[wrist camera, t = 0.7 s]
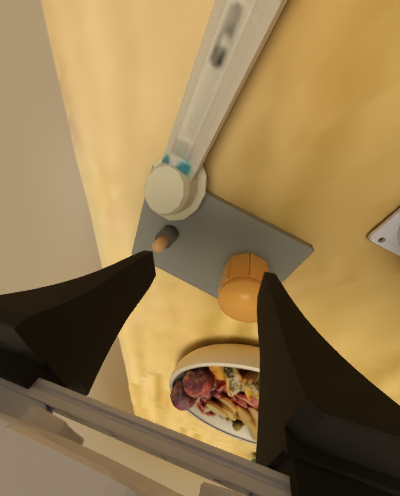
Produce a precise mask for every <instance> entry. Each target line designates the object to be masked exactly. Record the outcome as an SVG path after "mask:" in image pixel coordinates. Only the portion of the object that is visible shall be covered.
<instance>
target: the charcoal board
mask: <svg viewBox="0 0 400 496" xmlns="http://www.w3.org/2000/svg"><path fill="white" fill-rule="evenodd" d="M153 167H154V166H152V169H153ZM151 171H152V170H151ZM144 250H147V251H153V257H154V265H155V266H156V267H158V268H160V269H162V270H164V271H166V272H168V273H170V274H172V275H173V276H175V277H177V278H179V279H181V280H183V281H185V282H187V283H189V284H191V285H193V286H195V287H197V288H199V289H200V290H202V291H204V292H206V293H208V294H210V295H212V296H214V297H216V298H219V293H218V290H219V286H220V281H221V277H222V273H223V269H224V267H225V265H226V264H227V262H228V261H229V259H230V258H231V256H234V255H239V254H245V253H252V254H254V255H256V256H258V257H260V258H262V259H264V260H265V261H266V262H267V264H268V268H269V272H270V273H275V274H276V275H277V277H278V278H279V280H280V282H281V283H282V282H283V281H284V280H285V279H286V278H287V277H288V276H289V275H290V274H291V273H292V272H293V271H294V270H295V269H296V268H297V267H298V266H299V265H300V264H301V263H302V262H303V261H304V260H305V259H306V258H307V257H308V256H309V255H310V254H311V253H312V252H313V251H314V248H313V247H312V245H310V244H308V243H306V242H304V241H302V240H300V239H298V238H296V237H295V236H293V235H291V234H289V233H287V232H285V231H283V230H281V229H279V228H277V227H275V226H273V225H272V224H270V223H268V222H266V221H264V220H262V219H260V218H258V217H256V216H254V215H252V214H250V213H248V212H247V211H245V210H243V209H241V208H239V207H237V206H235V205H233V204H231V203H229V202H227V201H225V200H224V199H222V198H220V197H218V196H216V195H214V194H212V193H210V192H208V191H206V195H205V196H204V198H203V200H202V202H201V204H200V206H199V208H198V209H197V210H196V211H195V212H193V213H192V214H191V215H189V216H188V217H186V218H185V219H183V220H167V219H166V218H164V217H162V216H161V215H159V214H157V213H156V212H155V211H153V210H152V209H151V208H150V206H149V204H148V203H147V201H146V198H145V199H144V204H143V208H142V212H141V216H140V220H139V225H138V229H137V233H136V237H135V241H134V246H133V250H132V254H133V255H134V254H136V253H139V252H141V251H144Z"/></svg>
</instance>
